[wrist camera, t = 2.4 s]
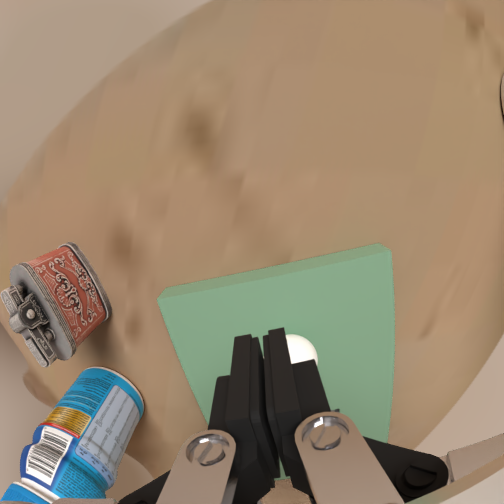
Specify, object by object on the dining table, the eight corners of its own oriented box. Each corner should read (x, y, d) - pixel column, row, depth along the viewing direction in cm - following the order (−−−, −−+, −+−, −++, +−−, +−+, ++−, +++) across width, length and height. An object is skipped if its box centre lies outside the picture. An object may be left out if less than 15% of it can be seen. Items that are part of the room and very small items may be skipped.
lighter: (54, 251, 24) (-18, 286, 14) (76, 235, 23) (0, 267, 14) (95, 323, 26) (39, 381, 16) (119, 312, 25) (63, 373, 15)
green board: (165, 287, 24) (156, 299, 22) (378, 243, 23) (391, 250, 20) (240, 469, 30) (239, 483, 28) (379, 442, 29) (385, 456, 27)
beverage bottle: (161, 399, 28) (99, 563, 8) (126, 428, 29) (69, 557, 10) (97, 349, 26) (-11, 493, 7) (71, 385, 28) (-13, 501, 9)
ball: (309, 319, 22) (318, 347, 18) (316, 361, 23) (324, 392, 19) (257, 330, 22) (257, 360, 18) (268, 370, 23) (269, 402, 19)
